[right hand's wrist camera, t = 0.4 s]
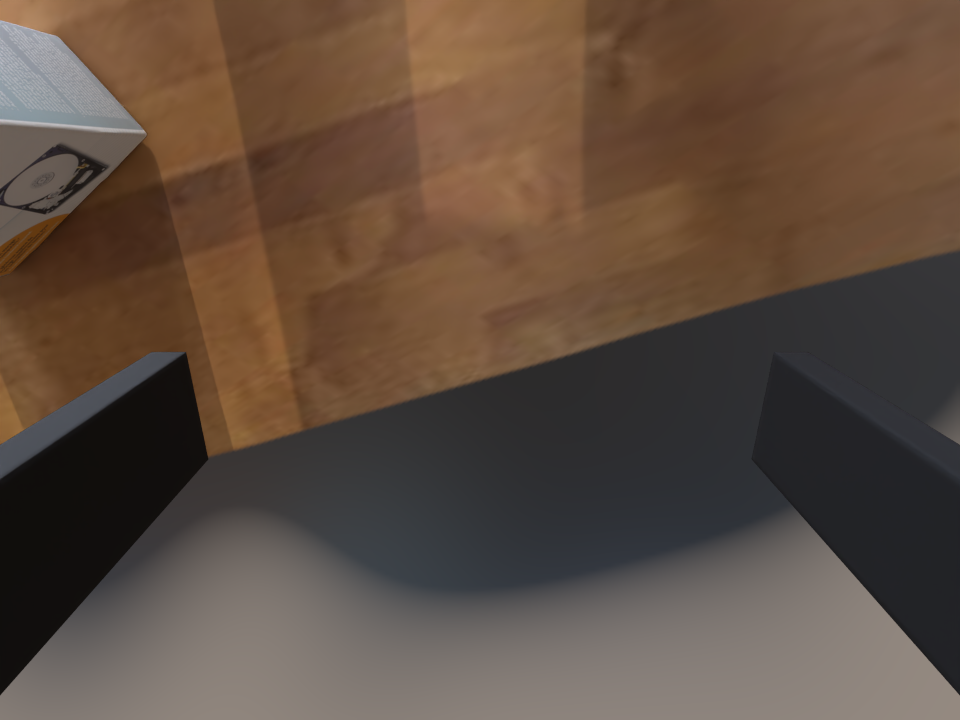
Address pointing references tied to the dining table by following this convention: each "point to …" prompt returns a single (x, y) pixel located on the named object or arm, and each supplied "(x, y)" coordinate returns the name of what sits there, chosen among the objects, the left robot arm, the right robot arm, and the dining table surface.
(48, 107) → the hard drive box
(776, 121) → the dining table surface
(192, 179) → the dining table surface
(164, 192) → the dining table surface
